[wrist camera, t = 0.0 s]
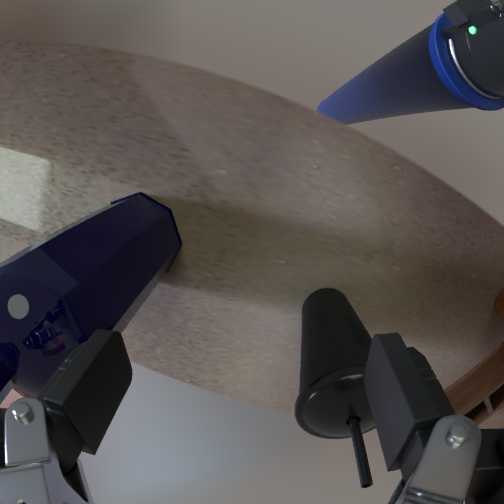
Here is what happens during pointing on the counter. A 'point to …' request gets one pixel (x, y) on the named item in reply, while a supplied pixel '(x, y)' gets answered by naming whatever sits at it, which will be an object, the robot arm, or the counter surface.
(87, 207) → the counter surface
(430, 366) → the robot arm
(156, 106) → the counter surface
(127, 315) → the bottle
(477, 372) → the holder
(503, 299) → the spice bottle
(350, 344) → the drinking cup
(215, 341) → the counter surface
